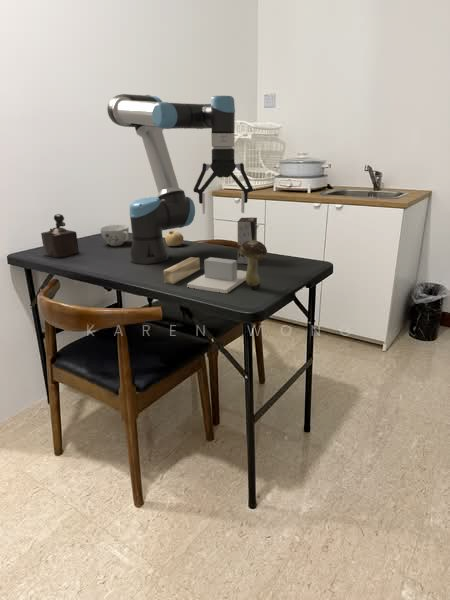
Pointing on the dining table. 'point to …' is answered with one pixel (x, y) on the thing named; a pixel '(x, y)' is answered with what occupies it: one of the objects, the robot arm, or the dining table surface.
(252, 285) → the mushroom
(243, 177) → the robot arm
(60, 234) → the brown coffee grinder
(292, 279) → the dining table surface
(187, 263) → the beech bar
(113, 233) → the teacup
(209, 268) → the fulcrum
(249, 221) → the coffee box
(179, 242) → the onion
